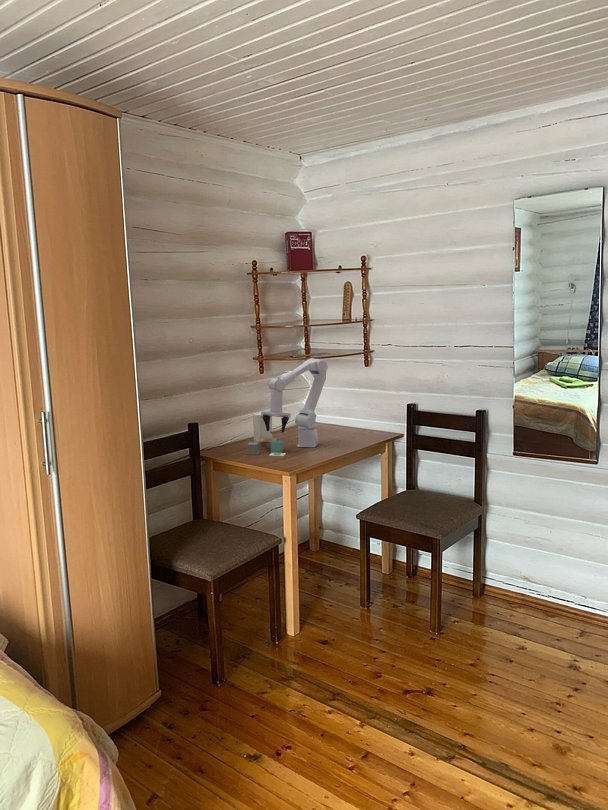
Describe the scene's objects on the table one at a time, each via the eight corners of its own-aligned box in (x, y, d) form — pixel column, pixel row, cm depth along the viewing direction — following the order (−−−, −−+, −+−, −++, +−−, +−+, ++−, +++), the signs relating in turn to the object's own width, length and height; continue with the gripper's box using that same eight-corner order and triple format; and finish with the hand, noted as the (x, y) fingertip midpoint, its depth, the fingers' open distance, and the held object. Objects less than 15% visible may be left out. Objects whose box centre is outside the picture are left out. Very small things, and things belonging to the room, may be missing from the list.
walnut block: (277, 446, 331) (277, 438, 330) (273, 449, 323) (272, 441, 322) (262, 445, 333) (262, 438, 332) (257, 449, 325) (257, 441, 325)
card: (285, 453, 313) (285, 452, 313) (283, 456, 308) (283, 455, 308) (271, 453, 315) (271, 452, 315) (268, 455, 310) (268, 454, 310)
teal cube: (283, 450, 320) (283, 440, 320) (280, 452, 316) (280, 442, 315) (273, 450, 322) (273, 440, 321) (270, 452, 317) (270, 442, 316)
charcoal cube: (260, 452, 317) (260, 442, 316) (257, 455, 312) (256, 444, 311) (250, 452, 318) (250, 442, 317) (247, 454, 313) (246, 444, 313)
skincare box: (260, 443, 336) (259, 415, 333) (253, 442, 340) (252, 413, 338) (273, 441, 341) (272, 413, 339) (265, 439, 346) (264, 411, 343)
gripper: (259, 403, 314) (258, 431, 316) (288, 405, 310) (287, 433, 312) (264, 401, 321) (263, 429, 322) (292, 403, 317) (291, 431, 318)
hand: (275, 431), depth 318 cm, fingers open, 7 cm apart
